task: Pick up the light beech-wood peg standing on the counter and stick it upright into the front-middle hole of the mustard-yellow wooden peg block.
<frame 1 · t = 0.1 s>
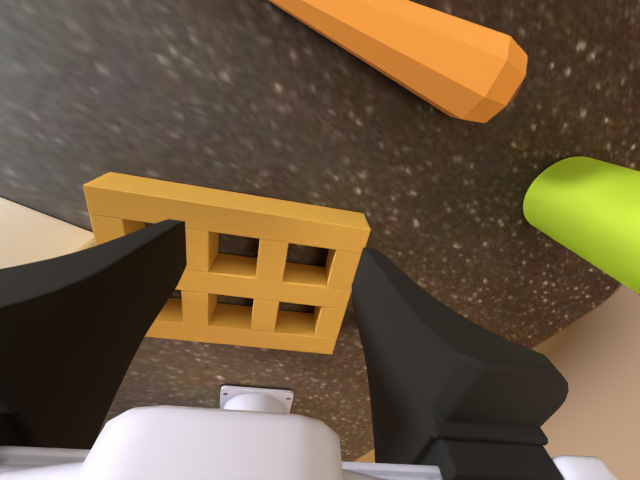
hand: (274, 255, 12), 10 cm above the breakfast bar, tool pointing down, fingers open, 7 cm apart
peg block: (239, 265, 24), on the breakfast bar
soap dispenser: (558, 200, 22), on the breakfast bar
medicine bottle: (46, 248, 23), on the breakfast bar
carrot: (347, 14, 16), on the breakfast bar
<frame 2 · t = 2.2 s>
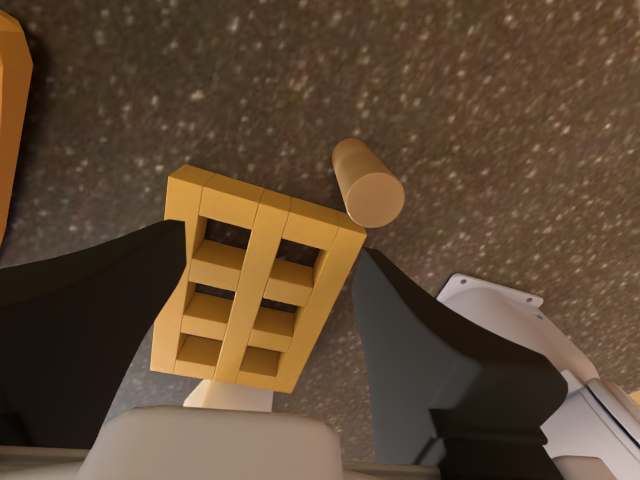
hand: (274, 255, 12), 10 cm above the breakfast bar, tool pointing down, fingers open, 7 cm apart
peg block: (250, 288, 25), on the breakfast bar
peg: (350, 157, 19), on the breakfast bar
medicine bottle: (230, 391, 32), on the breakfast bar
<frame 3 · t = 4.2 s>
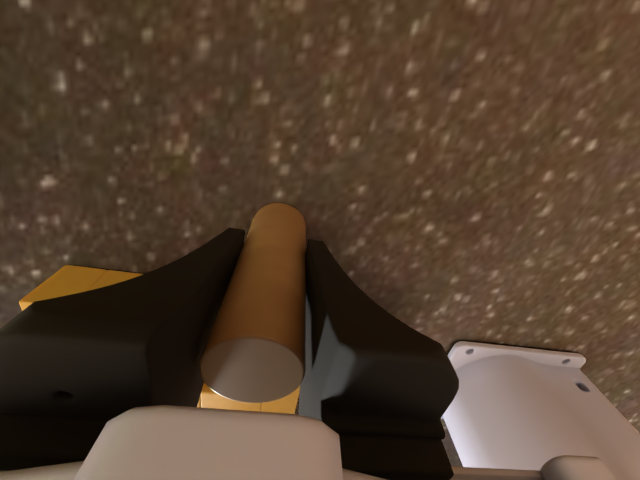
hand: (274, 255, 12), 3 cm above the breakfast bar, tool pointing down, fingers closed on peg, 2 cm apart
peg block: (198, 385, 20), on the breakfast bar
peg: (279, 227, 14), on the breakfast bar, touching gripper
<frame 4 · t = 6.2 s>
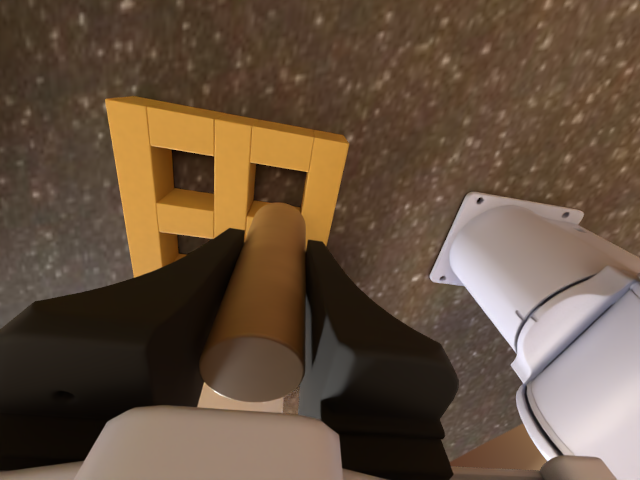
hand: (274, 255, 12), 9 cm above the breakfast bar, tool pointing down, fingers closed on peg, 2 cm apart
peg block: (237, 242, 22), on the breakfast bar
peg: (279, 226, 14), point 7 cm above the breakfast bar, touching gripper
medicine bottle: (241, 367, 29), on the breakfast bar
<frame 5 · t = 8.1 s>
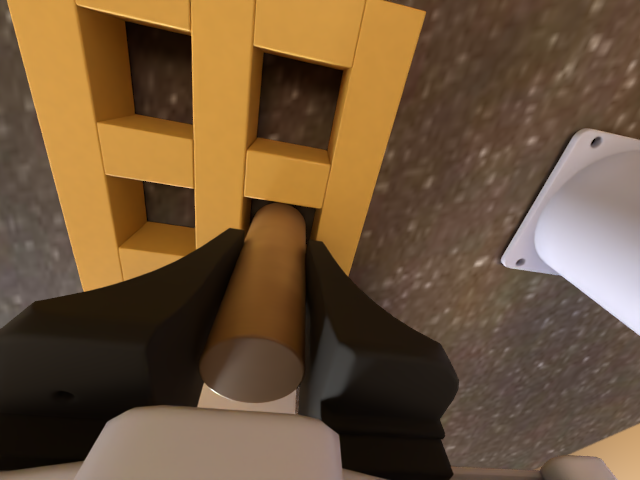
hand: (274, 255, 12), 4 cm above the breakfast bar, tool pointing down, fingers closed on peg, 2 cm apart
peg block: (232, 205, 15), on the breakfast bar
peg: (279, 227, 14), point 2 cm above the breakfast bar, touching gripper
medicine bottle: (237, 380, 23), on the breakfast bar
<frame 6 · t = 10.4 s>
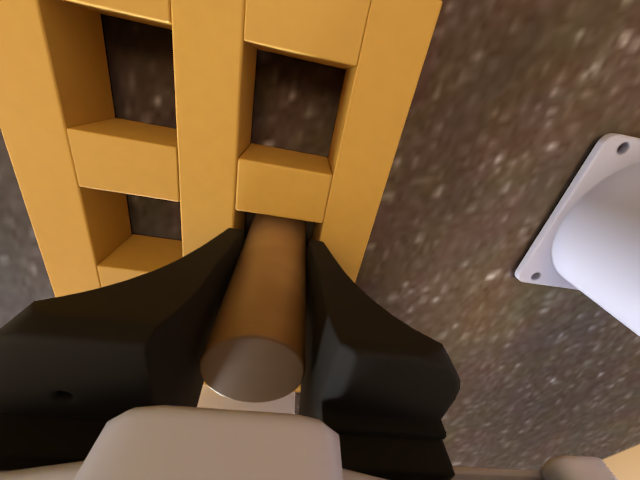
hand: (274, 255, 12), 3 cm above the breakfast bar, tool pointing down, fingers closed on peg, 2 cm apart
peg block: (224, 216, 14), on the breakfast bar
peg: (279, 226, 14), resting in peg block, touching gripper
medicine bottle: (232, 398, 21), on the breakfast bar
when the fingers open (4 cm above the breakfast bar, at t = 12.3 s): peg drops 1 cm, resting in peg block.
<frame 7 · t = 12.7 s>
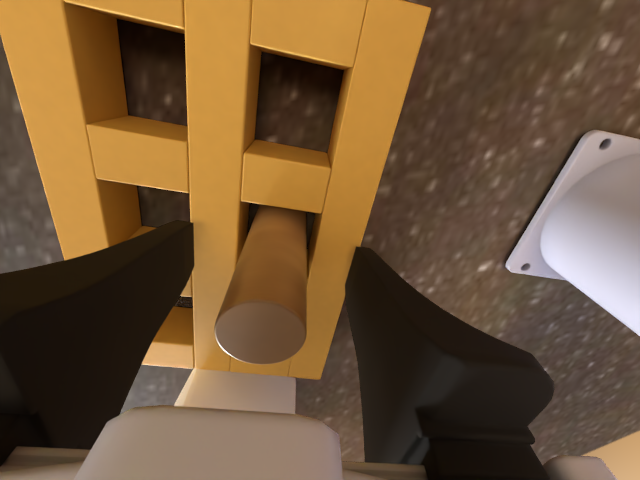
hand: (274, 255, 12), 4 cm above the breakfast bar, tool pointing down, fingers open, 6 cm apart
peg block: (229, 208, 15), on the breakfast bar
peg: (281, 216, 15), resting in peg block
medicine bottle: (235, 386, 22), on the breakfast bar
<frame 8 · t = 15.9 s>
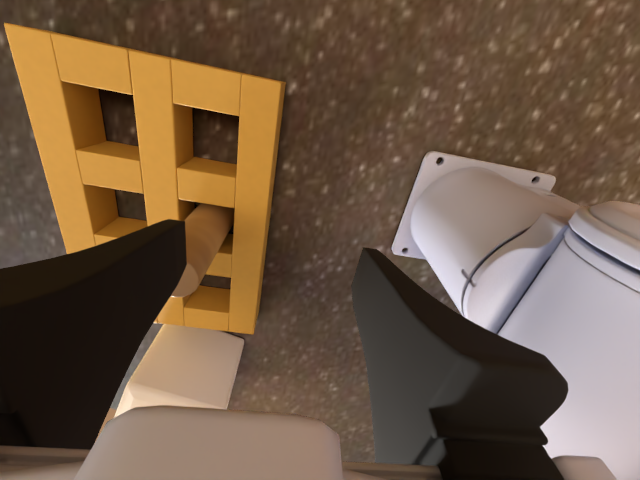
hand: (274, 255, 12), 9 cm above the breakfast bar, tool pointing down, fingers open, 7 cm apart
peg block: (180, 205, 21), on the breakfast bar
peg: (218, 211, 21), resting in peg block
medicine bottle: (198, 346, 28), on the breakfast bar
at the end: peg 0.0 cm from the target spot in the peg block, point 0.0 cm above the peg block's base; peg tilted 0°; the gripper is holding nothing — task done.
